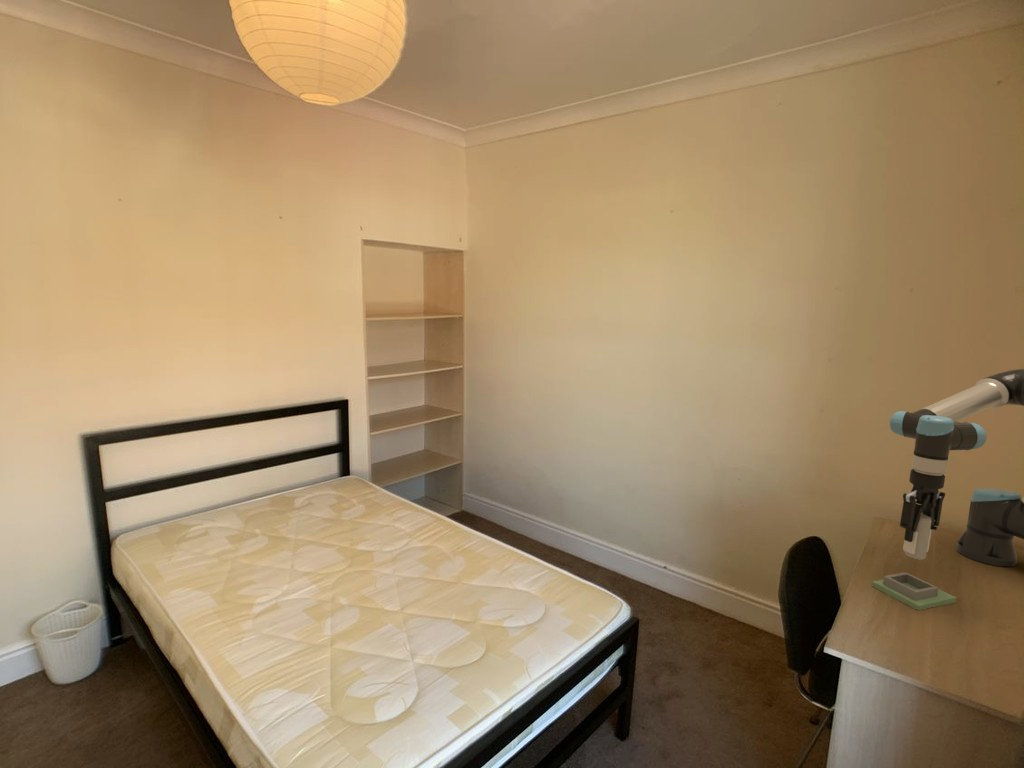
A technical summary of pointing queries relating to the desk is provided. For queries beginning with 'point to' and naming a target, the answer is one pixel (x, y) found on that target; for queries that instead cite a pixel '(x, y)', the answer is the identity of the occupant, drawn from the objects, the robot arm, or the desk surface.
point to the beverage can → (921, 538)
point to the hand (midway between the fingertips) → (915, 550)
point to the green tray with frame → (913, 591)
